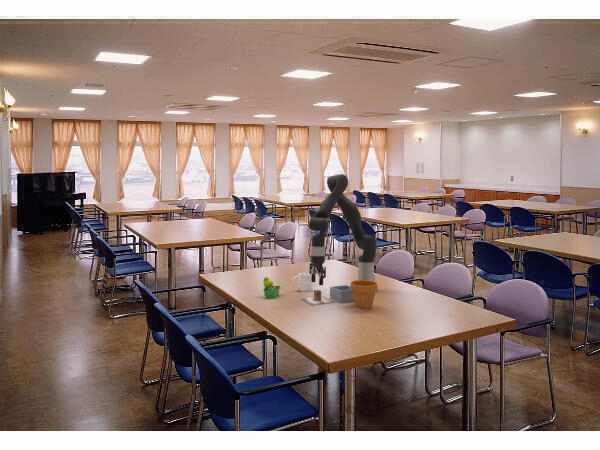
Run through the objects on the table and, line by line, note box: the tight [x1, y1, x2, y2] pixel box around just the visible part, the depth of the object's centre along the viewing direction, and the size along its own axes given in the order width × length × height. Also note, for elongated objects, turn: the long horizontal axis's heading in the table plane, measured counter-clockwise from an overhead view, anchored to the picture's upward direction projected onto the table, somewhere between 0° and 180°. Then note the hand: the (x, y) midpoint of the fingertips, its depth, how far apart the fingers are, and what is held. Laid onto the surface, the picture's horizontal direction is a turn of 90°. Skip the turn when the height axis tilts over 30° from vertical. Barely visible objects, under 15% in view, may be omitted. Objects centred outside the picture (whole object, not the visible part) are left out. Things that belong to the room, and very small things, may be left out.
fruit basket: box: [262, 276, 281, 299], centre depth 301 cm, size 11×9×11 cm
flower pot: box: [350, 279, 378, 310], centre depth 281 cm, size 14×14×13 cm
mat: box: [301, 300, 336, 307], centre depth 291 cm, size 14×14×1 cm
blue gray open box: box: [329, 284, 354, 304], centre depth 295 cm, size 11×11×7 cm
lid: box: [300, 289, 335, 306], centre depth 290 cm, size 13×13×6 cm
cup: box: [292, 272, 313, 293], centre depth 316 cm, size 8×12×10 cm
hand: (317, 283), depth 290 cm, fingers open, 8 cm apart
